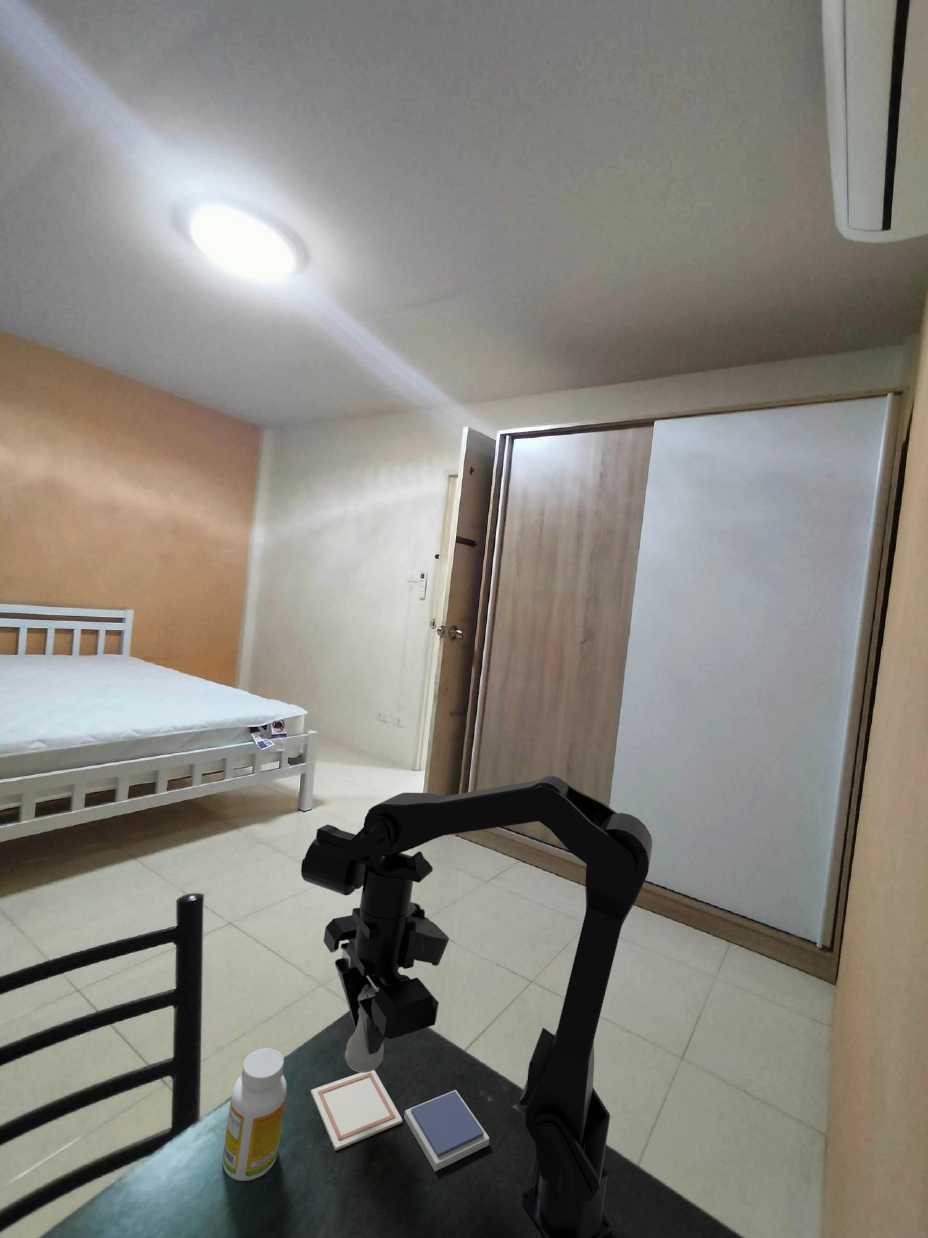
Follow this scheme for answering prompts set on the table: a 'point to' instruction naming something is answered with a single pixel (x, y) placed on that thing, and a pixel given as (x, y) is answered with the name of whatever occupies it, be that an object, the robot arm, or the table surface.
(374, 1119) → the marked square board
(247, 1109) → the supplement bottle
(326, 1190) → the table surface
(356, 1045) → the rook chess piece
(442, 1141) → the ink pad
